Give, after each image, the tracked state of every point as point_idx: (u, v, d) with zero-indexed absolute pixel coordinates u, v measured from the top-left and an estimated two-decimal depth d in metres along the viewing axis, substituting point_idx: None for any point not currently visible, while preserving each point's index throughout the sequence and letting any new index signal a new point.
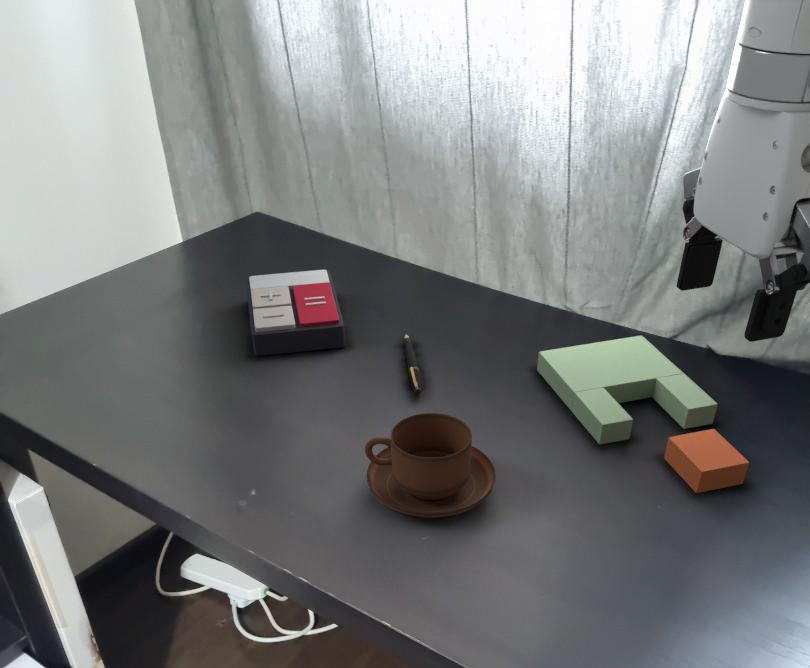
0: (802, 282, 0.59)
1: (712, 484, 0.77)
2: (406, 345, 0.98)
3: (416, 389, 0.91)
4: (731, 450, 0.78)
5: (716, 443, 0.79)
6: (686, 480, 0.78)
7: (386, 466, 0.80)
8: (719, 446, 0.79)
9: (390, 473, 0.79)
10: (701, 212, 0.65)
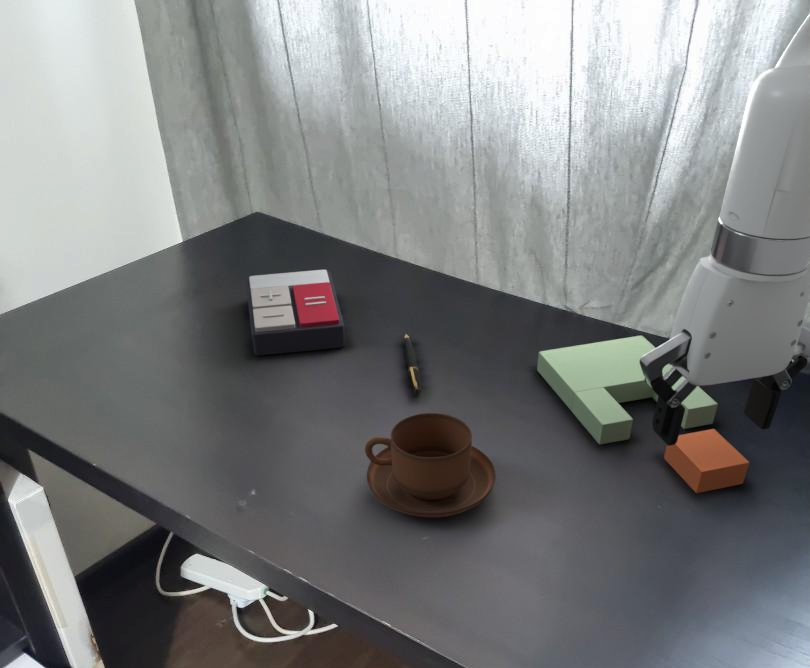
0: None
1: (712, 484, 0.77)
2: (406, 345, 0.98)
3: (416, 389, 0.91)
4: (731, 450, 0.78)
5: (716, 443, 0.79)
6: (686, 480, 0.78)
7: (386, 466, 0.80)
8: (719, 446, 0.79)
9: (390, 473, 0.79)
10: (710, 376, 0.70)
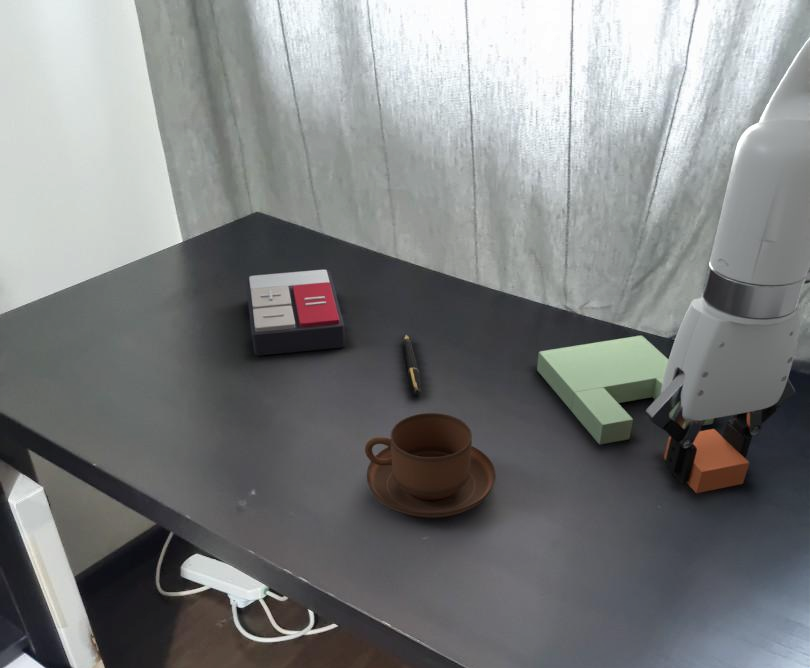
0: None
1: (712, 484, 0.77)
2: (406, 346, 0.98)
3: (415, 390, 0.91)
4: (731, 450, 0.78)
5: (716, 443, 0.79)
6: None
7: (386, 466, 0.80)
8: (719, 446, 0.79)
9: (390, 473, 0.79)
10: (703, 412, 0.72)
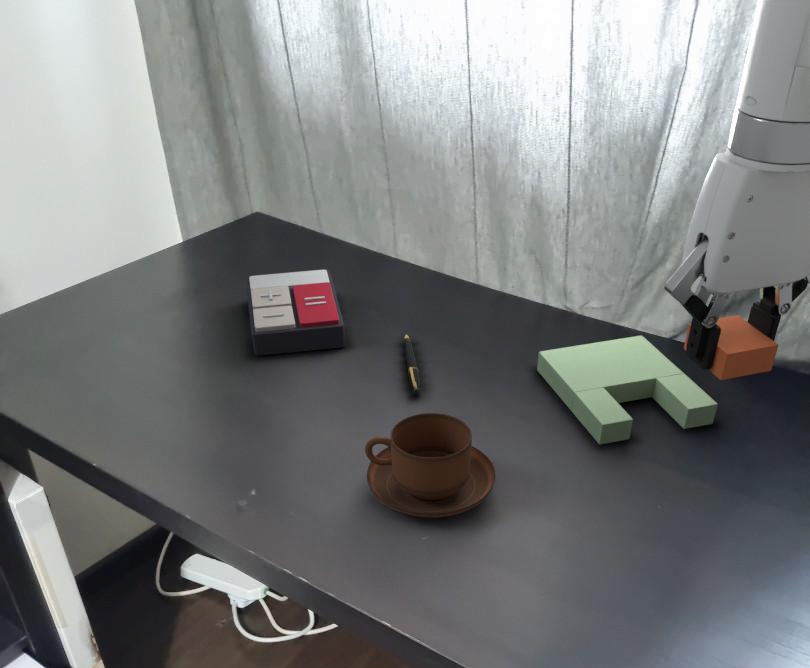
0: None
1: (738, 370, 0.71)
2: (406, 345, 0.98)
3: (415, 389, 0.91)
4: (758, 334, 0.71)
5: (741, 327, 0.72)
6: None
7: (386, 466, 0.80)
8: (744, 331, 0.72)
9: (390, 473, 0.79)
10: (729, 283, 0.66)
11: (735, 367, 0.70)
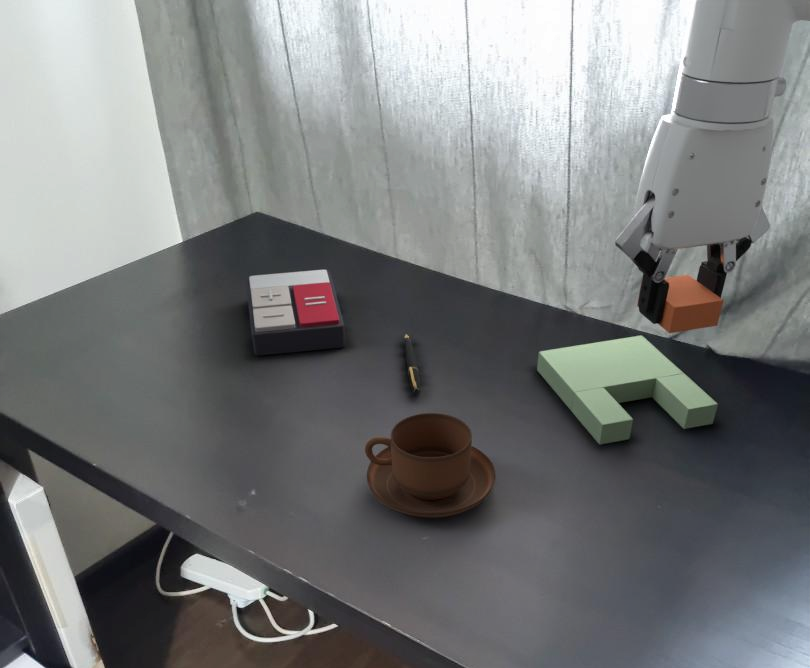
0: None
1: (685, 323, 0.75)
2: (406, 345, 0.98)
3: (415, 389, 0.91)
4: (705, 291, 0.76)
5: (690, 285, 0.77)
6: None
7: (386, 466, 0.80)
8: (693, 288, 0.76)
9: (390, 473, 0.79)
10: (675, 238, 0.70)
11: (682, 321, 0.74)
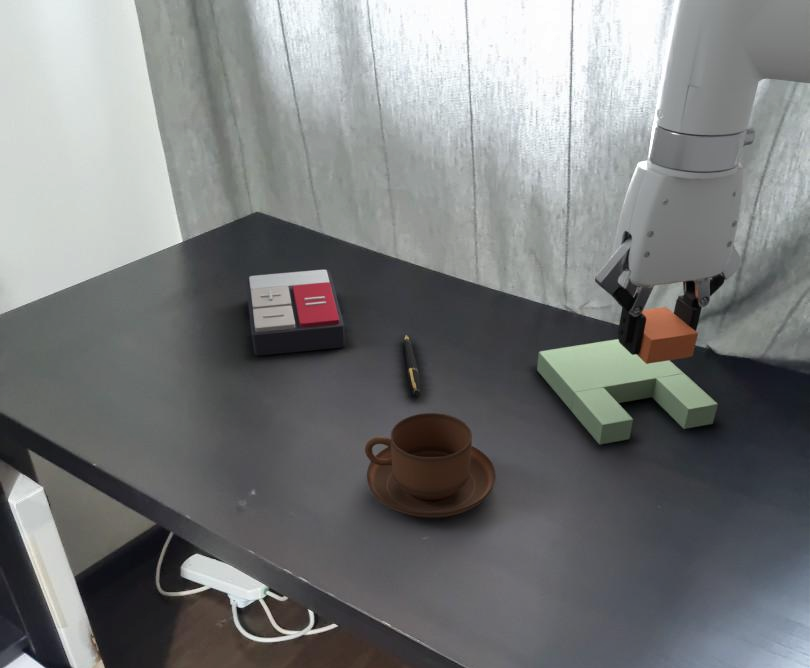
0: None
1: (662, 355, 0.79)
2: (406, 346, 0.98)
3: (414, 390, 0.91)
4: (681, 323, 0.80)
5: (667, 318, 0.81)
6: None
7: (386, 466, 0.80)
8: (669, 320, 0.80)
9: (390, 473, 0.79)
10: (651, 276, 0.74)
11: (659, 352, 0.79)
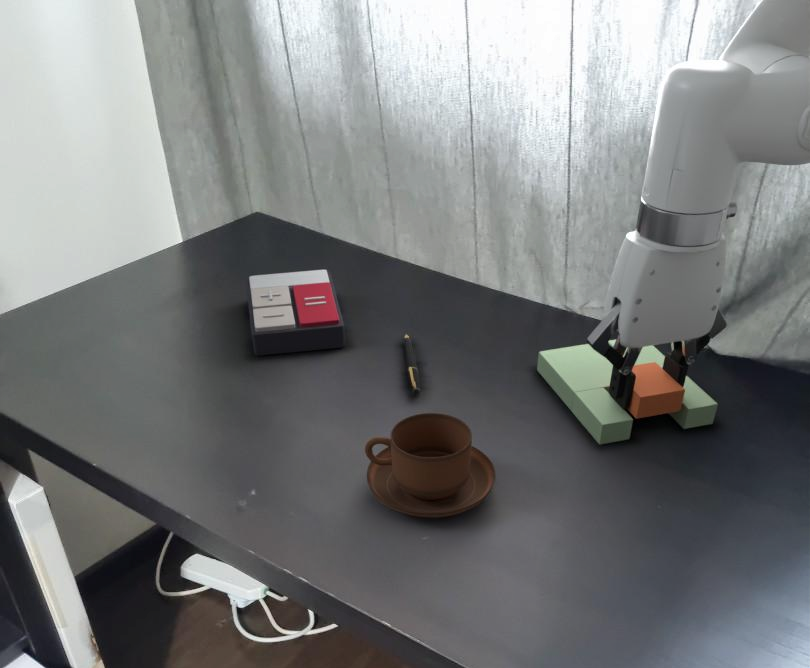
0: None
1: (651, 410, 0.83)
2: (406, 345, 0.98)
3: (414, 389, 0.91)
4: (669, 379, 0.84)
5: (656, 373, 0.85)
6: None
7: (386, 466, 0.80)
8: (658, 376, 0.85)
9: (390, 473, 0.79)
10: (639, 339, 0.78)
11: (648, 408, 0.83)
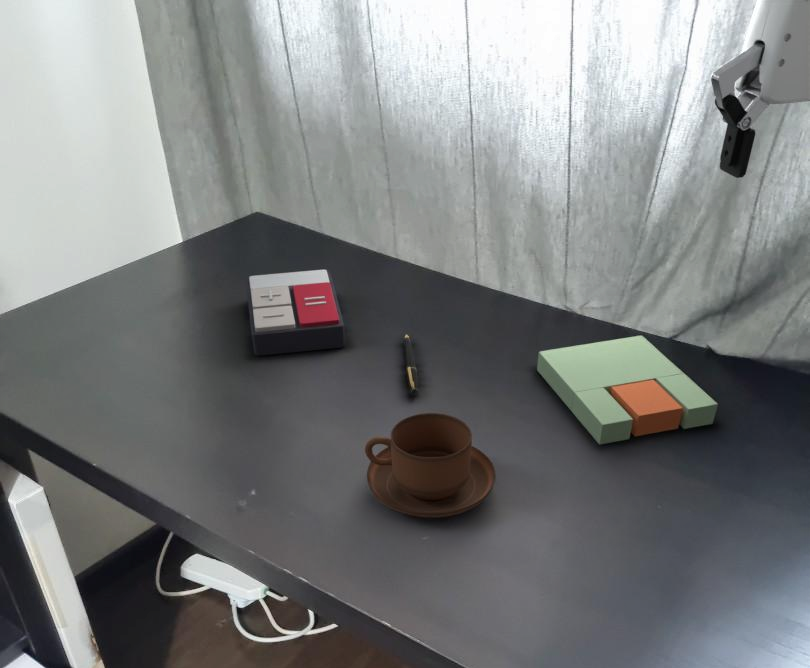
0: None
1: (649, 428, 0.84)
2: (405, 345, 0.98)
3: (412, 389, 0.91)
4: (667, 398, 0.85)
5: (654, 391, 0.86)
6: None
7: (386, 466, 0.80)
8: (656, 394, 0.86)
9: (390, 473, 0.79)
10: (783, 90, 0.69)
11: (646, 426, 0.84)
